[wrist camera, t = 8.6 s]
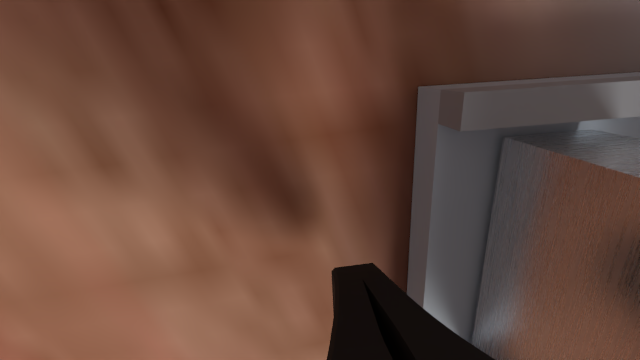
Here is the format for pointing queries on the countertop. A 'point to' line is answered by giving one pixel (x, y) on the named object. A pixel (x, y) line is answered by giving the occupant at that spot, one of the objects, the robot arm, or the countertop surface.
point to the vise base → (488, 171)
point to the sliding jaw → (563, 250)
